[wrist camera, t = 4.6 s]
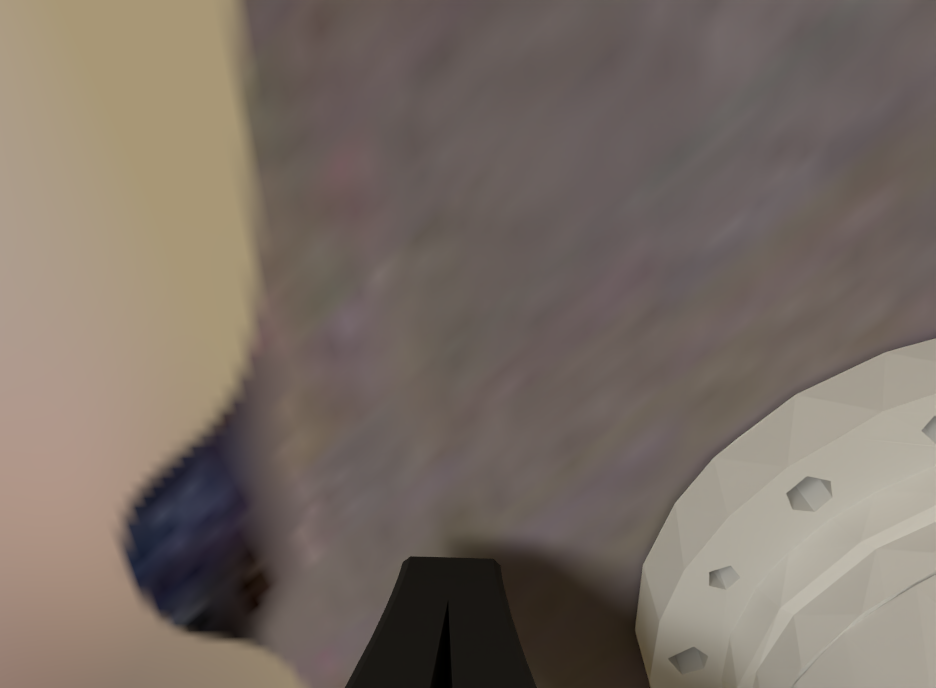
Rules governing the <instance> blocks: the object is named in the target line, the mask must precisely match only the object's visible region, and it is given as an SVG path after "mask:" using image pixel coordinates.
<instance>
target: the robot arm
mask: <svg viewBox="0 0 936 688" xmlns="http://www.w3.org/2000/svg"><path fill="white" fill-rule="evenodd" d="M345 688H537V687H536V684H535V682H534V679H533V677H532V674H531V672H530V669H529V667H528V664H527V661H526V659H525V656H524V653H523V650H522V647H521V645H520V642H519V639H518V635H517V632H516V629H515V626H514V623H513V620H512V617H511V613H510V610H509V606H508V603H507V599H506V595H505V590H504V586H503V581H502V576H501V568H500V565H499V564H498V563H497V562H496V561H495V560H494V559H478V558H445V557H409V558H408V559H407V560H405V561H404V562H403V564H402V567H401V570H400V573H399V576H398V579H397V581H396V584H395V587H394V589H393V592H392V594H391V596H390V599H389V601H388V603H387V606H386V608H385V610H384V612H383V615H382V617H381V619H380V621H379V623H378V625H377V627H376V629H375V631H374V633H373V636H372V638H371V640H370V641H369V643H368V645H367V647H366V649H365V651H364V653H363V655H362V657H361V659H360V660H359V662H358V664H357V666H356V668H355V670H354V672H353V674H352V676H351V677H350V679H349V681H348V683H347V685H346V687H345Z"/></svg>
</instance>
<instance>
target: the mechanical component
mask: <svg viewBox="0 0 936 688" xmlns="http://www.w3.org/2000/svg"><path fill="white" fill-rule="evenodd" d="M635 633H636V636H637V640H638V644H639V647H640V651H641V654H642V658H643V662H644V665H645V669H646V673H647V676H648V680H649V684H650V687H651V688H936V338H935V339H932V340H928V341H924V342H921V343H917V344H913V345H910V346H906V347H903V348H899V349H895V350H892V351H888V352H885V353H883V354H881V355H878V356H876V357H874V358H872V359H870V360H868V361H866V362H864V363H861V364H859V365H857V366H855V367H853V368H851V369H849V370H847V371H844V372H842V373H840V374H838V375H836V376H834V377H832V378H830V379H828V380H825V381H823V382H821V383H819V384H817V385H815V386H813V387H811V388H808V389H806V390H804V391H802V392H800V393H798V394H796V395H794V396H793V397H792V398H790V399H789V400H788V401H786V402H785V403H784V404H782V405H781V406H780V407H778V408H777V409H776V410H774V411H773V412H772V413H770V414H769V415H768V416H767V417H765V418H764V419H763V420H761V421H760V422H759V423H757V424H756V425H755V426H753V427H752V428H751V429H749V430H748V431H747V432H745V433H744V434H743V435H741V436H740V437H739V438H737V439H736V440H735V441H734V442H733V443H731V444H730V445H729V446H728V447H726V448H725V449H724V450H723V451H721V452H720V453H719V454H718V455H716V456H715V457H714V458H713V459H712V460H711V461H710V463H709V464H708V465H707V466H706V467H705V468H704V470H703V471H702V472H701V473H700V474H699V476H698V477H697V478H696V479H695V480H694V481H693V483H692V484H691V485H690V486H689V487H688V488H687V490H686V491H685V492H684V493H683V494H682V496H681V497H680V498H679V499H678V500H677V501H676V503H675V504H674V506H673V508H672V510H671V512H670V514H669V516H668V518H667V520H666V522H665V523H664V525H663V527H662V529H661V531H660V533H659V535H658V537H657V539H656V541H655V543H654V545H653V547H652V549H651V550H650V552H649V554H648V556H647V558H646V560H645V562H644V564H643V568H642V577H641V585H640V593H639V601H638V609H637V617H636V625H635Z"/></svg>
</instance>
